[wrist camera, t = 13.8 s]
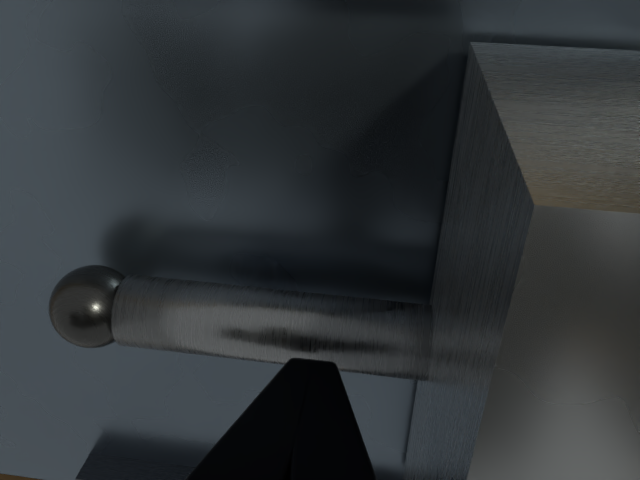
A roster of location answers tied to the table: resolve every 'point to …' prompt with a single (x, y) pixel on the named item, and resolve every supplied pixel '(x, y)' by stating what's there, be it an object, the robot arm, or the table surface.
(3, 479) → the table surface
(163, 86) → the vise
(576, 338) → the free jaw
